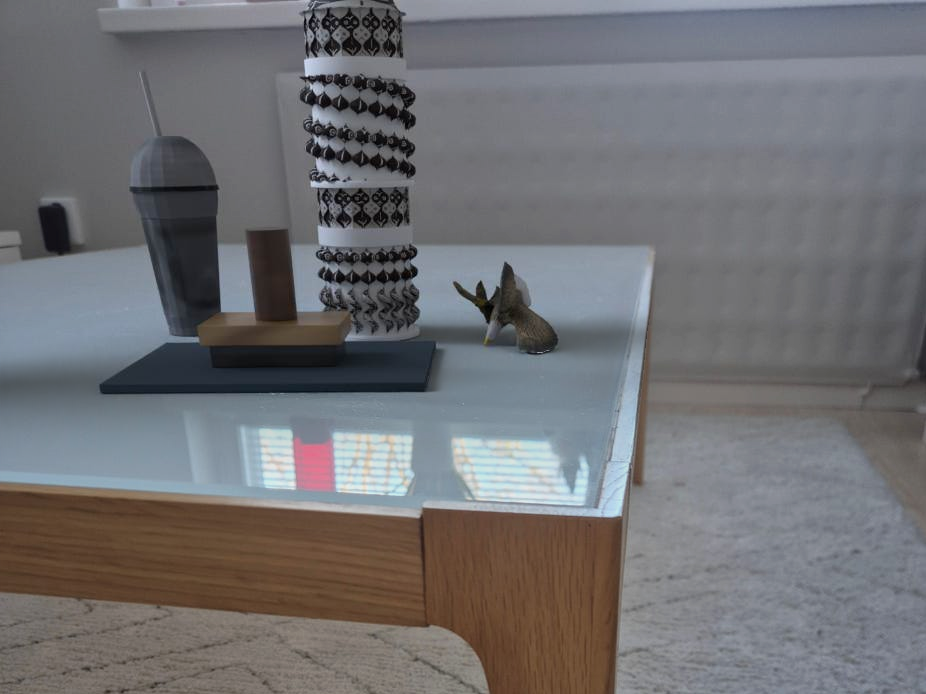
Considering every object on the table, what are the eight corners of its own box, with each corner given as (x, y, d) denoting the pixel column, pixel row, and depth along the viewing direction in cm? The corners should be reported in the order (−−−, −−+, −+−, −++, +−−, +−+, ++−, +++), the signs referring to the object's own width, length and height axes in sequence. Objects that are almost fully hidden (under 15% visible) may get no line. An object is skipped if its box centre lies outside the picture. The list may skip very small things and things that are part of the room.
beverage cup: (243, 334, 82) (210, 68, 73) (156, 341, 80) (111, 67, 71) (230, 322, 88) (199, 74, 79) (150, 327, 86) (107, 73, 77)
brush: (203, 369, 67) (183, 232, 63) (223, 352, 72) (206, 225, 68) (342, 368, 67) (332, 231, 63) (353, 351, 72) (344, 224, 68)
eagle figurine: (432, 326, 79) (481, 321, 71) (467, 247, 78) (520, 233, 70) (504, 370, 82) (557, 369, 75) (537, 294, 82) (594, 286, 74)
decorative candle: (303, 342, 79) (270, -18, 67) (337, 323, 87) (313, -1, 75) (409, 345, 78) (393, -23, 66) (433, 326, 86) (424, -5, 74)
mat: (100, 393, 63) (98, 384, 63) (167, 350, 77) (165, 342, 76) (425, 391, 63) (424, 382, 63) (436, 347, 76) (435, 340, 76)
